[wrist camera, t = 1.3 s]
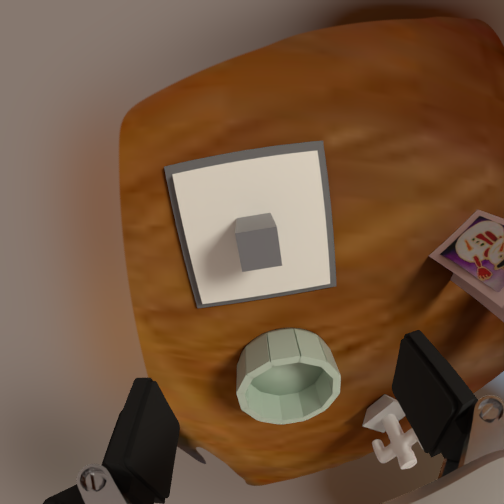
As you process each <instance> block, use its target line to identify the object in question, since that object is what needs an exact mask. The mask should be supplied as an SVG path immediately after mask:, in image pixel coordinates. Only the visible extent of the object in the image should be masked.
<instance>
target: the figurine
mask: <svg viewBox="0 0 504 504" xmlns="http://www.w3.org/2000/svg"><path fill="white" fill-rule="evenodd" d="M404 416H406V415H405V413H404V412H403V410H402V408H401V406H400V404H399V402H398V401H397V400H396V399H394V398H392V397H389V396H387V395H385V394H384V395H383V396H382V397H381V398H380V399H378V400H377V401H376V402H375V403H374V404H372V405H371V406H370V407H369V408H367V411H366V414H365V418H364V422H363V425H362V426H364V427H367V428H370V429H373V430H376V431H379V432H383V433H384V432H385V431H386V432H387V434H388V437H389V439H390V441H391V443H390V444H389V445H388V446H387V447H384V445H383V443H382V441H381V440H379V439H376V440H374V441H373V442H372V446H373V448H374V451H375V454H376V456H377V459H378V460H379V461H380V462H381V463H386V462H388V461H390V460H391V459H393V458H394V457H396V456H397V458H398V461H399V465H400V468H401V469H406V468H408V469H409V468H411V467H413V466H414V465H415V464H416V463H417V460H416V457H415V455H414V452H413V451H412V450H411V446H412V445H413V444H414V443H416V442H417V441H418V442H419V440H418V438H417V436H416V434H415V432H414V430H413V428H411V429H410V430H408V431H407V432H406V433H404V432H403V430H402V428H401V426H400V424H399V422H398V421H399V420H401V419H402V418H403V417H404ZM419 444H420V442H419ZM420 446H421V444H420ZM421 448H422V446H421ZM422 449H423V448H422Z"/></svg>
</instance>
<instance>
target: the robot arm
mask: <svg viewBox="0 0 504 504" xmlns="http://www.w3.org/2000/svg"><path fill="white" fill-rule="evenodd" d="M392 391H393V393H394V395H395V397H396V399H397V401H398V402H399V404H400V406H401V408H402V410H403V412H404V413H405V415H406V417H407V419H408V421H409V423H410V425H411V427H412V428H413V430H414V432H415V434H416V436H417V438H418V440H419V442H420V444H421V446H422V448H423V450H424V451H425V452H426V453H429V454H430V456H431V457H433V456H435V455H437V454H439V453H442V455H443V457H444V461H443V465H442V467H441V471H440V474H439V476H438V479H437V480H435V481H433V482H431V483H429V484H427V485H425V486H423V487H420V488H418V489H416V490H413V491H411V492H409V493H407V494H405V495H402V496H399V497H397V498H394V499H392V500H389V501H386V502H383V503H381V504H504V401H503V400H502V399H501V398H499V397H497V396H493V395H487V396H484V397H482V398H481V399H479V400H478V399H477V398H476V397H475V395H474V394H473V393H472V391H471V390H470V389H469V388H468V386H467V385H466V384H465V382H464V381H463V380H462V379H461V377H460V376H459V375H458V374H457V372H456V371H455V370H454V369H453V368H452V366H451V365H450V364H449V363H448V361H447V360H446V359H445V358H444V357H443V356H442V355H441V354H440V353H439V352H438V351H437V349H436V348H435V347H434V346H433V345H432V344H431V342H430V341H429V340H428V339H427V338H426V337H425V335H424V334H423V333H422V332H421V331H420V330H417V331H414V332H411V333H408V334H405V336H404V339H402V340H401V343H400V349H399V355H398V360H397V365H396V370H395V374H394V379H393V383H392ZM179 430H180V426H179V422H178V420H177V419H176V417H175V415H174V413H173V412H172V410H171V408H170V406H169V404H168V403H167V401H166V399H165V397H164V395H163V393H162V391H161V390H160V388H159V386H158V384H157V382H156V381H153V380H152V379H151V378H136V379H135V380H134V383H133V386H132V388H131V390H130V393H129V395H128V398H127V401H126V403H125V406H124V408H123V410H122V411H121V413H120V414H119V417H118V420H117V422H116V426H115V428H114V431H113V434H112V436H111V439H110V442H109V445H108V448H107V451H106V453H105V457H104V460H103V462H102V465H99V464H90V465H87V466H85V467H84V468H82V469H81V470H80V472H79V473H78V476H77V484H76V485H74V486H73V487H71V488H68V489H66V490H64V491H62V492H60V493H58V494H56V495H54V496H52V497H49V498H48V499H46V500H45V501H44V503H43V504H154V503H163V504H164V503H165V498H168V497H169V494H170V487H171V480H172V473H173V467H174V460H175V454H176V448H177V442H178V436H179Z"/></svg>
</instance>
